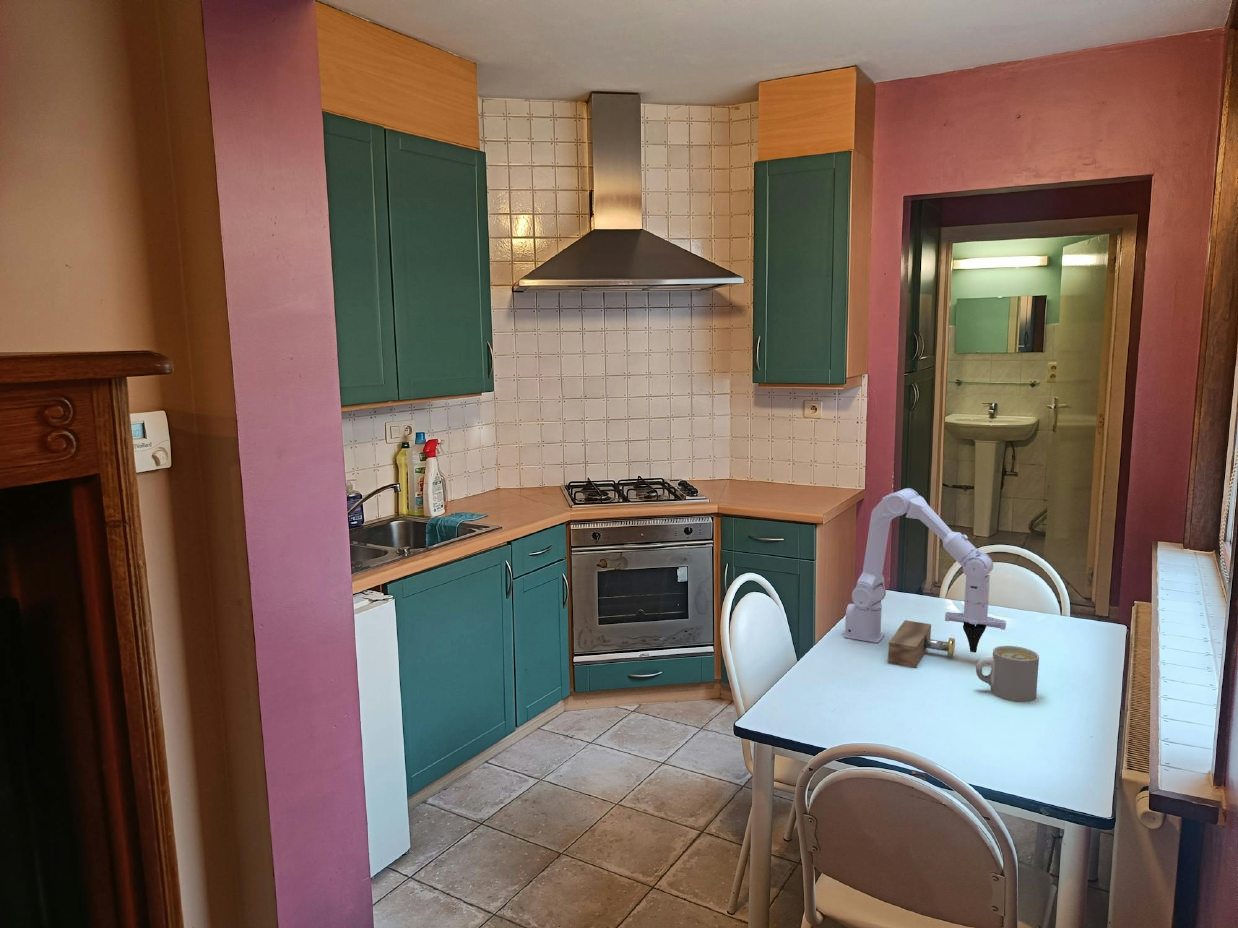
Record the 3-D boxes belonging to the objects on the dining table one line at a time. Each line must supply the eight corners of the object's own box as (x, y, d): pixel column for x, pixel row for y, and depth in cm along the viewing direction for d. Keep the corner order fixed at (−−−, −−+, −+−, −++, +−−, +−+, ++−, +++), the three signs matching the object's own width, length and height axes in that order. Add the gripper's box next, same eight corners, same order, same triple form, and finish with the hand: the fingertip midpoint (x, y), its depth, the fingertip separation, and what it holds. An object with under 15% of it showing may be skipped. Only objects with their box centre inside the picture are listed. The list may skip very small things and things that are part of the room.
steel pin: (915, 653, 231) (916, 635, 230) (918, 647, 235) (919, 630, 234) (951, 659, 226) (952, 641, 226) (954, 653, 230) (955, 636, 230)
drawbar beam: (887, 662, 225) (888, 642, 224) (903, 639, 242) (904, 620, 241) (915, 667, 222) (916, 646, 221) (930, 643, 239) (931, 624, 238)
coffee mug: (1035, 688, 209) (1038, 648, 207) (1036, 704, 200) (1039, 663, 198) (975, 679, 214) (977, 641, 213) (974, 695, 205) (976, 654, 204)
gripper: (944, 600, 224) (941, 651, 226) (1005, 609, 217) (1001, 661, 219) (948, 593, 230) (945, 642, 232) (1008, 601, 223) (1004, 652, 225)
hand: (973, 651), depth 226 cm, fingers closed
